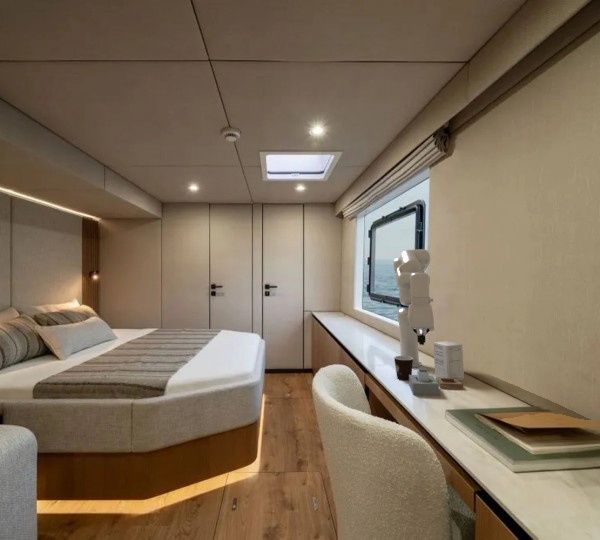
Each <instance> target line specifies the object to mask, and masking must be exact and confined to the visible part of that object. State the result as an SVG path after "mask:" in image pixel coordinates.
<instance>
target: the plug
mask: <svg viewBox="0 0 600 540" xmlns="http://www.w3.org/2000/svg"><path fill="white" fill-rule="evenodd" d="M416 372H417V373H416V375H417V376H418V381H427V382H429V371H428V369H427V368H423V367H422V368H421V367H417V370H416Z"/></svg>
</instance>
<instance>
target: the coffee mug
mask: <svg viewBox="0 0 600 540" xmlns="http://www.w3.org/2000/svg"><path fill="white" fill-rule="evenodd" d="M412 364H413V358H412V357H409V356H401V355H396V356H394V365H395V372H396V373H395V374H396V380H398V379H399V381H409V375H413V367H412Z"/></svg>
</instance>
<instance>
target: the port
mask: <svg viewBox="0 0 600 540" xmlns="http://www.w3.org/2000/svg"><path fill="white" fill-rule="evenodd" d="M408 386H409V388H410V391H411V393H412V395H413V396H433V397H440V387H439V384H438V383H437V381H436V377H434V375H429V382H427V381H418V376H417V374H412V375H409V380H408Z"/></svg>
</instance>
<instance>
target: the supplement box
mask: <svg viewBox="0 0 600 540" xmlns="http://www.w3.org/2000/svg"><path fill="white" fill-rule="evenodd" d="M433 355H434V356H433V359H434V361H433V362H434V376H435V378H436V377H441V378H457V379H458V380H459V381H461V380H462V381H463V380H464V379H465V371H464V351H463V343H460V342H455V341H451V340H444V341H443V340H442V341H437V342H436V341H434V342H433Z"/></svg>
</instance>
